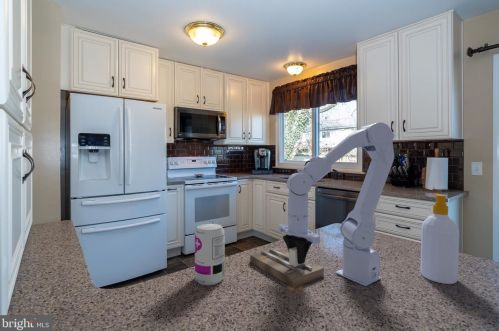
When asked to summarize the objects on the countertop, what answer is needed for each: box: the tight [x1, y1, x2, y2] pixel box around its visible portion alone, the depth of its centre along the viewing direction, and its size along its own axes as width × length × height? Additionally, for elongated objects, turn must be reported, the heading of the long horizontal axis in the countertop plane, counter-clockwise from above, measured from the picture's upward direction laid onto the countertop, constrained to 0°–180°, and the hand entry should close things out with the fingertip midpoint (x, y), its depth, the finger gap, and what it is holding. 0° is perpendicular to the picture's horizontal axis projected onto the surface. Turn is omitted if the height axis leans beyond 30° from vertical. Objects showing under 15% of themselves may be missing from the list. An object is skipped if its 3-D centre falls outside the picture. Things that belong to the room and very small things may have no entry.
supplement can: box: [194, 222, 226, 286], centre depth 72 cm, size 8×8×15 cm
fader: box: [288, 247, 307, 268], centre depth 75 cm, size 3×4×5 cm
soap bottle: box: [419, 192, 460, 285], centre depth 74 cm, size 9×9×24 cm
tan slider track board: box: [249, 247, 325, 289], centre depth 79 cm, size 20×12×3 cm, turn 35°
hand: (297, 261), depth 75 cm, fingers closed on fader, 2 cm apart
